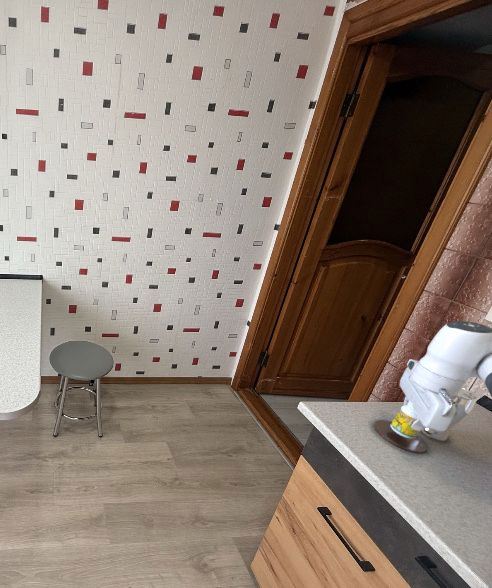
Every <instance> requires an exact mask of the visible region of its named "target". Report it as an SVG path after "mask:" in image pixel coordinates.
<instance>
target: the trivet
mask: <svg viewBox="0 0 492 588" xmlns="http://www.w3.org/2000/svg"><path fill="white" fill-rule="evenodd" d="M392 422H393V421H391V420H386V419H385V420H384V419H379V420H377V421H375V422H374V424H373V427H374V430H375V432H377V434H378V435H379V436H380V437H381V438H382V439H384V440H385V441H386V442H388V443H390V444H391V445H393V446H395V447H396V448H399V449H400V450H403V451H406V452H408V453H409V452H410V453H414V454H423V453H425V452H426V451H427V444H426V442H425V441H424V440H423V439H422V437H420V436H419V434H418V435H417V436H416V437H415V438H413V439H410V438H406V437H403V436H401V435H399V434H398V433H396V432H395V431H394V430H393V429H392V428H391V423H392Z"/></svg>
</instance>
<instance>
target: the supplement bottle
mask: <svg viewBox="0 0 492 588" xmlns="http://www.w3.org/2000/svg"><path fill="white" fill-rule="evenodd" d="M412 420H413V421H416V420H417V414H416V412H415V411H414V409H413V407H412V403H411V401H409V402H408V405H404V404H403V405H401V406H400V409H399V410H398V412H397V413H396V415H395V417H394V418H393V420H392V421H391V422H392V423H391V428H392V429H393V430H394V431H395V432H396V433H398V434H399V435H401V436H403V437H406V438H410V439H413V438H415V437H416V436H417V435H418V436H419V433H420V432H421V431H416V430H413V429H412V428H411V426H410V423H411V422H412Z"/></svg>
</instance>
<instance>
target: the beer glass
mask: <svg viewBox="0 0 492 588" xmlns="http://www.w3.org/2000/svg"><path fill="white" fill-rule="evenodd" d="M450 397H451V398H452V399H453V401H454V402H453V404H454V405H455V408H456V412H455V415H454V417H453V419H452V421H451V423H450V424H449V426H448V428H447V429H446V431H444V432H437V431H434V430H431V429H428V428H426V427H423V428H422V429H421V430H420V432H422V433H423V434H424V435H426V436H427V437H430V438H431V439H434V440H436V441H442V442H444V441H447V439H448V438H449V433H450V432H451V430H452V429H453V428H454V427H455V426H456V425H458V424H459V423H461V421H463V420H464V419H465V418H466V417H467V416H469V414H470V413H471V412H472V410H473V408H474V407H475V405H476V403H477V401H478V400H479V397H478V396H477V394H475V393H474V392H472V391H471V390H470V389H467V388H465V387H464V386H463V387H462V389H461V390H460V392H459V393H458V394H457V395H456V396H450Z"/></svg>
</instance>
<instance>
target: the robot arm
mask: <svg viewBox="0 0 492 588" xmlns="http://www.w3.org/2000/svg"><path fill="white" fill-rule="evenodd" d="M406 366H407V367H406V368H405V370H404V372H403V374H402V375H401V378H400V380H399V387H400V389H401V390H402V392H403V394H404V401H403V406H404V405H408V402H409V401H411V403H412V407H413V409H414V411H415V412H416V414H417V420H416V421H413V420H412V422H411V423H410V426H411V428H412V429H413V430H416V431H420V430H421V429H422V428H423V427H426V428H428V429H431V430H434V431H437V432H444V431H446V429H447V428H448V426H449V424H450V423H451V421H452V419H453V417H454V415H455V412H456V408H455V405H454V404H453V402H454V401H453V399H452V398H451V397H450V396H456V395H457V394H458V393H459V392H460V390H461V389H462V387H463V388H464V386H465V385H466V383H467V382H468V380H469V379H470V378H476V379H478V380H479V379H480V380H481V381H482V382H483V384H485V387H486V388H487V391H488V393H489V395H490V397H492V327H490V326H488V325H485V324H481V323H478V322H474V321H467V320H456V321H450V322H448V323H446V324H444V325H443V326H442V327H441V328H440V329H439V330H438V331H437V333H436V334H435V335H434V337H433V338H432V340H431V341H430V342H429V344H428V346H427V349H426V353H425V355H424V356H423V357H421V358H420V359H419V360H416V359H412V358H411V359H409V360H408V361H407V362H406ZM420 432H421V431H420Z"/></svg>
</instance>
